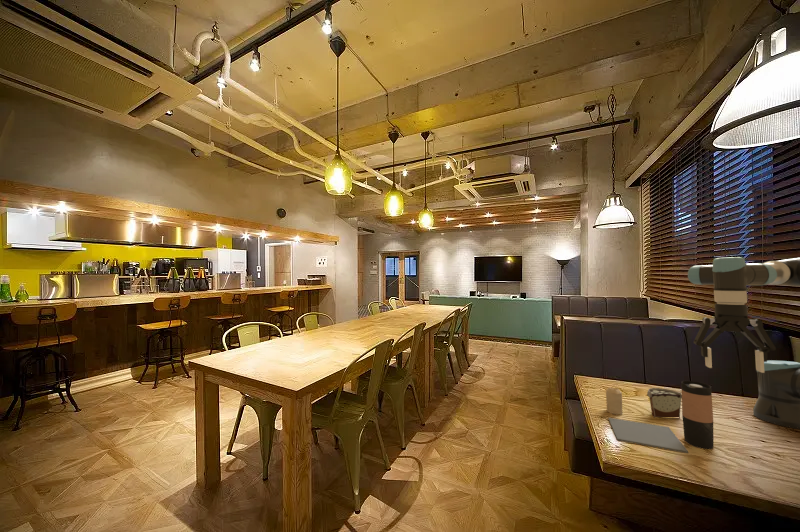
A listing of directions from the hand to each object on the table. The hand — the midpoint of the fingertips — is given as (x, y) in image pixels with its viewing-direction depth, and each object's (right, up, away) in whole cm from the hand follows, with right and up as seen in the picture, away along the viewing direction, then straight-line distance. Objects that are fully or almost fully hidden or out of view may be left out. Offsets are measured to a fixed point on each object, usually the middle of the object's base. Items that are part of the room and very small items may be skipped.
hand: (733, 369), depth 102 cm
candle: (-20, -28, +28) cm, 44 cm away
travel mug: (-9, -27, +3) cm, 28 cm away
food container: (-2, -28, +25) cm, 38 cm away
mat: (-22, -27, +10) cm, 36 cm away
